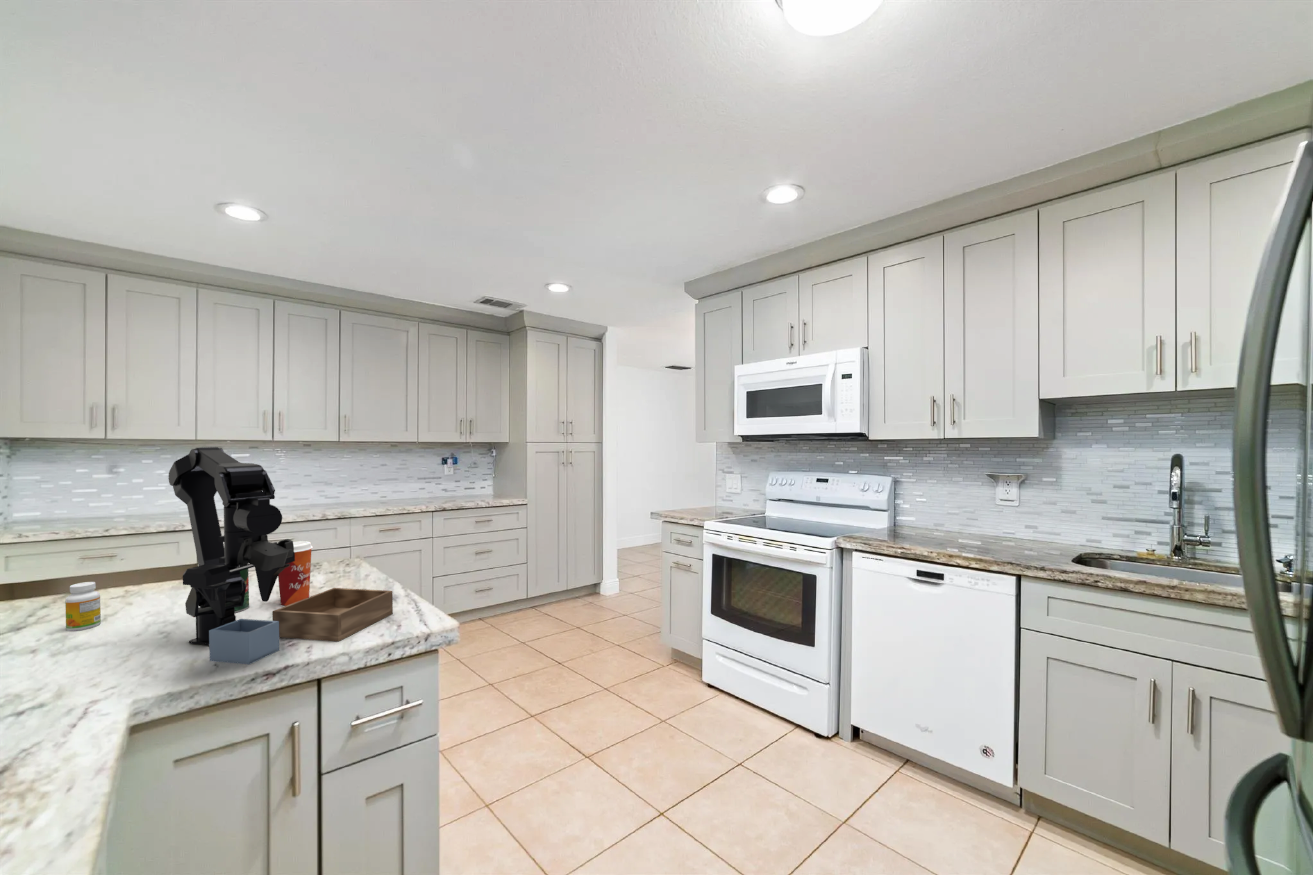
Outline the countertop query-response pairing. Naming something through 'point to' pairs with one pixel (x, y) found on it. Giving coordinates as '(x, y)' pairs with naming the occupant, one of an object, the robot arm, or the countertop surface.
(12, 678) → the countertop surface
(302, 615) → the big crate
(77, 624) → the supplement bottle
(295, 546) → the coffee cup
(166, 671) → the countertop surface
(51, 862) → the countertop surface
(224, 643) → the small crate
